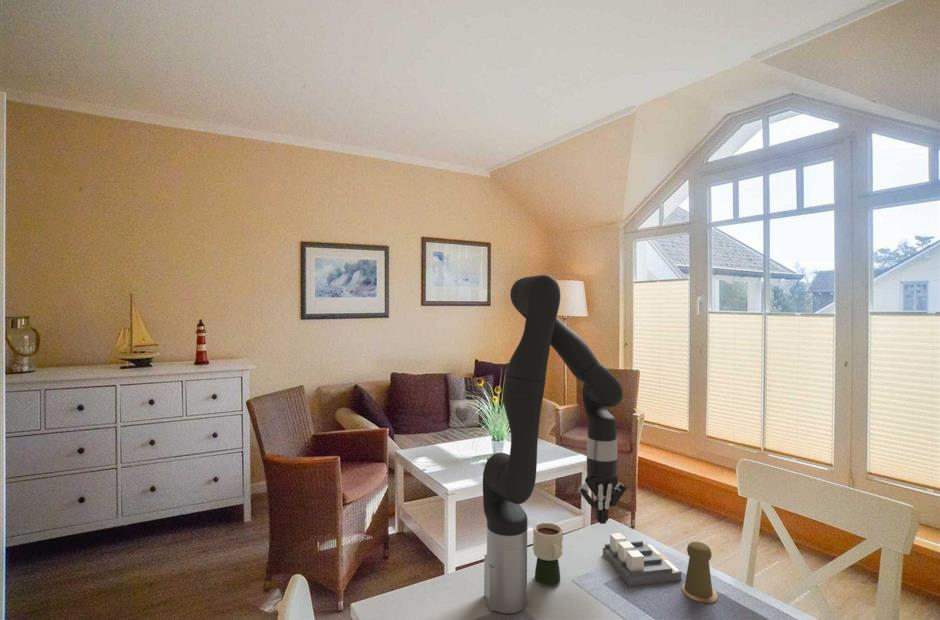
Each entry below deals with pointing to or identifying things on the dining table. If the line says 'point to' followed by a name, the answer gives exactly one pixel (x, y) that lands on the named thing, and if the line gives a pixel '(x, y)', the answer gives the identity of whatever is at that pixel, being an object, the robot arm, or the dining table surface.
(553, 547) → the character mug
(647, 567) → the switch panel
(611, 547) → the tab back
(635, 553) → the tab front
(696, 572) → the pepper shaker
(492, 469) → the robot arm
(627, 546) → the tab middle
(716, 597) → the cork coaster
